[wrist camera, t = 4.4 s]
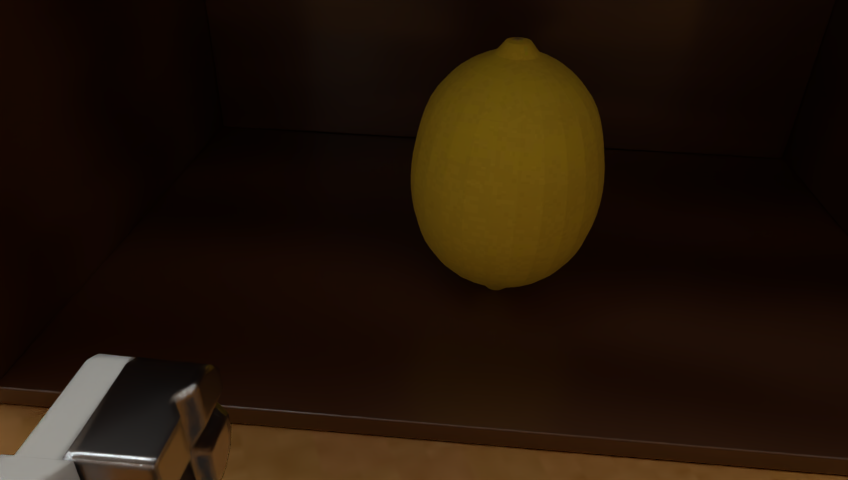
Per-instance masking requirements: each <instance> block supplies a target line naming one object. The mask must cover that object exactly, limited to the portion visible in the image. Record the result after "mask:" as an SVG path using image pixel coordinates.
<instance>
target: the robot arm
mask: <svg viewBox="0 0 848 480" xmlns="http://www.w3.org/2000/svg"><path fill="white" fill-rule="evenodd" d="M223 388H224V387H223V382H222V378H221V374H220V370H219V368H218V367H216V366H214V365H212V364H202V363H193V362H183V361H173V360H164V359H154V358H144V357H136V358H135V357H126V356H117V355H108V354H97V355H95V356H93V357H91V358H89V359H88V360H86V361H85V363H84V364H83V365H82V367H81V368H80V369H79V371H78V372H77V373H76V374H75V376H74V377H73V378H72V380H71V381H70V382H69V384H68V385H67V386H66V388H65V389H64V390H63V392H62V393H61V394H60V396H59V397H58V398H57V399H56V401H55V402H54V403H53V405H52V406H51V407H50V409H49V410H48V411H47V413H46V414H45V415H44V417H43V418H42V419H41V420H40V422H39V423H38V424H37V426H36V427H35V428H34V430H33V431H32V432H31V434H30V435H29V436H28V438H27V439H26V440H25V442H24V443H23V444H22V445H21V447H20V448H19V449H18V451H17V452H16V453H15V455H0V480H221V479H222V476H223V474H224V471H225V469H226V465H227V460H228V455H229V450H230V445H231V425H230V419H229V413H228V412H227V411H226V410H225V409H224V408H223V407H222V406H221V405H220V404H219V403H218V402H217V401H218V399H219V396H220V394H221V392H222V390H223Z"/></svg>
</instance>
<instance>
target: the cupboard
mask: <svg viewBox="0 0 848 480" xmlns="http://www.w3.org/2000/svg"><path fill="white" fill-rule="evenodd" d="M511 37H522V38H527V39H530V40H531V41H532V42H533V43H534V45H535V46H536V48H537V49H538V51H539V52H542V53H544V54H547V55H549V56H551V57H553V58H555V59H556V60H558V61H560V62H561V63H563V64H564V65H565V66H566V67H568V68H569V69H570V70H571V71H573V72H574V74H575V75H576V76H577V77H578V78H579V79H580V80H581V81H582V83H583V84H584V86H585V87H586V88H587V90H588V91H589V93H590V94H591V96H592V97H593V100H594V102H595V104H596V106H597V108H598V112H599V116H600V119H601V124H602V131H603V140H604V161H605V171H604V185H603V193H602V197H601V202H600V206H599V209H598V212H597V215H596V218H595V220H594V223H593V225H592V227H591V229H590V231H589V233H588V235H587V236H586V238H585V240H584V242H583V244H582V246H581V247H580V248H579V250H578V251H577V253H576V254H575V255H574V256H573V257H572V258H571V259H570V260H569V261H568V262H567V263H566V264H565V265H563V266H562V267H561V268H560V269H558V270H557V271H556V272H554V273H553V274H552V275H550V276H548V277H546V278H544V279H541V280H539V281H537V282H535V283H532V284H529V285H524V286H520V287H510V288H504V289H502V290H491V289H489V288H487V287H486V286H485V285H481V284H477V283H474V282H471V281H469V280H467V279H465V278H462V277H460V276H459V275H458V274H456V273H455V272H453V271H452V270H451V269H449V268H448V267H446V266H445V265H444V264H443V263H442V262H441V261H440V260H439V259H438V257H437V256H436V255H435V254H434V253H433V251H432V250H431V249H430V247H429V246H428V244H427V243H426V241H425V240H424V237H423V235H422V233H421V230H420V227H419V224H418V221H417V217H416V214H415V211H414V206H413V201H412V193H411V164H412V157H413V151H414V146H415V142H416V137H417V133H418V129H419V125H420V122H421V118H422V115H423V113H424V110H425V107H426V105H427V103H428V101H429V99H430V97H431V95H432V94H433V92H434V91H435V89H436V88H437V86H438V85H439V84H440V83H441V82H442V81H443V80H444V79H445V78H446V77H447V76H448V75H449V74H450V73H451V72H452V71H453V70H454V69H455V68H457V67H458V66H459V65H460V64H462V63H464V62H465V61H467V60H469V59H470V58H472V57H474V56H476V55H479V54H481V53H484V52H487V51H490V50H494V49H497V48H498V47H499V46H500V45H501V44H502V43H503V42H504V41H505V40H506V39H507V38H511ZM97 354H108V355H117V356H126V357H135V358H136V357H144V358H154V359H164V360H173V361H183V362H193V363H202V364H212V365H214V366H216V367H218V368H219V370H220V374H221V378H222V382H223V387H224V388H223V390H222V392H221V394H220V396H219V399H218V401H217V402H218V403H219V404H220V405H221V406H222V407H223V408H224V409H225V410H226V411H227V412H228V413H229V419H230V422H231V423H242V424H254V425H266V426H277V427H289V428H301V429H312V430H324V431H336V432H347V433H359V434H371V435H382V436H394V437H406V438H417V439H429V440H441V441H452V442H464V443H476V444H487V445H499V446H511V447H522V448H534V449H546V450H557V451H569V452H581V453H592V454H604V455H616V456H627V457H639V458H651V459H662V460H674V461H686V462H697V463H709V464H720V465H732V466H744V467H755V468H767V469H779V470H790V471H802V472H814V473H825V474H837V475H848V0H0V403H9V404H21V405H33V406H44V407H51V406H52V405H53V403H54V402H55V401H56V399H57V398H58V397H59V396H60V394H61V393H62V392H63V390H64V389H65V388H66V386H67V385H68V384H69V382H70V381H71V380H72V378H73V377H74V376H75V374H76V373H77V372H78V371H79V369H80V368H81V367H82V365H83V364H84V363H85V361H86V360H88V359H89V358H91V357H93V356H95V355H97Z"/></svg>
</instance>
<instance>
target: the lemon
mask: <svg viewBox="0 0 848 480" xmlns="http://www.w3.org/2000/svg"><path fill="white" fill-rule="evenodd" d="M604 171H605V161H604V140H603V131H602V124H601V119H600V116H599V112H598V108H597V106H596V104H595V102H594V100H593V97H592V96H591V94H590V93H589V91H588V90H587V88H586V87H585V86H584V84H583V83H582V81H581V80H580V79H579V78H578V77H577V76H576V75H575V74H574V72H573V71H571V70H570V69H569V68H568V67H566V66H565V65H564V64H563V63H561V62H560V61H558V60H556V59H555V58H553V57H551V56H549V55H547V54H544V53H542V52H539V51H538V49H537V48H536V46H535V45H534V43H533V42H532V41H531V40H530V39H527V38H522V37H511V38H507V39H506V40H505V41H504V42H503V43H502V44H501V45H500V46H499V47H498V48H497V49H494V50H490V51H487V52H484V53H481V54H479V55H476V56H474V57H472V58H470V59H469V60H467V61H465V62H464V63H462V64H460V65H459V66H458V67H457V68H455V69H454V70H453V71H452V72H451V73H450V74H449V75H448V76H447V77H446V78H445V79H444V80H443V81H442V82H441V83H440V84H439V85H438V86H437V88H436V89H435V91H434V92H433V94H432V95H431V97H430V99H429V101H428V103H427V105H426V107H425V110H424V113H423V115H422V118H421V122H420V125H419V129H418V133H417V137H416V142H415V146H414V151H413V157H412V164H411V193H412V201H413V206H414V211H415V214H416V217H417V221H418V224H419V227H420V230H421V233H422V235H423V237H424V240H425V241H426V243H427V244H428V246H429V247H430V249H431V250H432V251H433V253H434V254H435V255H436V256H437V257H438V259H439V260H440V261H441V262H442V263H443V264H444V265H445V266H446V267H448V268H449V269H451V270H452V271H453V272H455V273H456V274H458V275H459V276H460V277H462V278H465V279H467V280H469V281H471V282H474V283H477V284H481V285H485V286H486V287H487V288H489V289H491V290H502V289H504V288H510V287H520V286H524V285H529V284H532V283H535V282H537V281H539V280H541V279H544V278H546V277H548V276H550V275H552V274H553V273H554V272H556V271H557V270H558V269H560V268H561V267H562V266H563V265H565V264H566V263H567V262H568V261H569V260H570V259H571V258H572V257H573V256H574V255H575V254H576V253H577V251H578V250H579V248H580V247H581V246H582V244H583V242H584V240H585V238H586V236H587V235H588V233H589V231H590V229H591V227H592V225H593V223H594V220H595V218H596V215H597V212H598V209H599V206H600V202H601V197H602V193H603V185H604Z"/></svg>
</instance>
